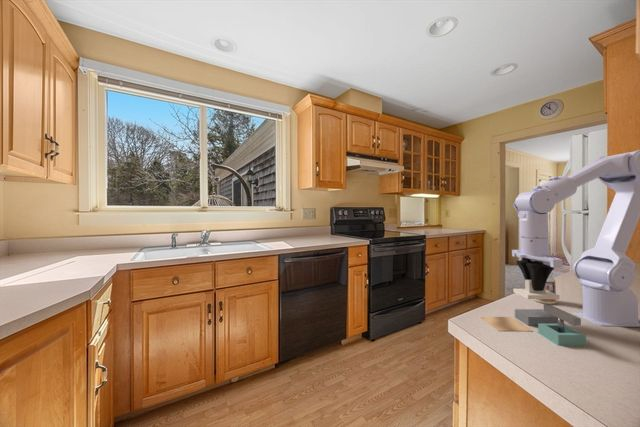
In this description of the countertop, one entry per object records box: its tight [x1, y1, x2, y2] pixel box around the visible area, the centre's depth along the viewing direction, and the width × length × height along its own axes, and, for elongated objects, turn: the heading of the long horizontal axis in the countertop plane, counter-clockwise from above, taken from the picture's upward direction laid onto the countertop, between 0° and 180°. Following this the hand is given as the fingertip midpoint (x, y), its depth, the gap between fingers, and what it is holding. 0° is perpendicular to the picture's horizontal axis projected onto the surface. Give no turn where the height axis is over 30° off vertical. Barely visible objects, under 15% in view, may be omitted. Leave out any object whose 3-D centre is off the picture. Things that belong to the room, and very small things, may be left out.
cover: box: [512, 279, 560, 300], centre depth 67 cm, size 7×5×4 cm
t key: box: [543, 303, 582, 333], centre depth 58 cm, size 8×2×6 cm, turn 175°
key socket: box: [536, 323, 589, 347], centre depth 58 cm, size 6×6×2 cm
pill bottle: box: [532, 270, 557, 305], centre depth 81 cm, size 6×6×10 cm
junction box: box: [514, 308, 558, 327], centre depth 67 cm, size 7×5×2 cm
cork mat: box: [480, 316, 534, 332], centre depth 66 cm, size 8×8×1 cm
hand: (535, 289), depth 67 cm, fingers closed on cover
